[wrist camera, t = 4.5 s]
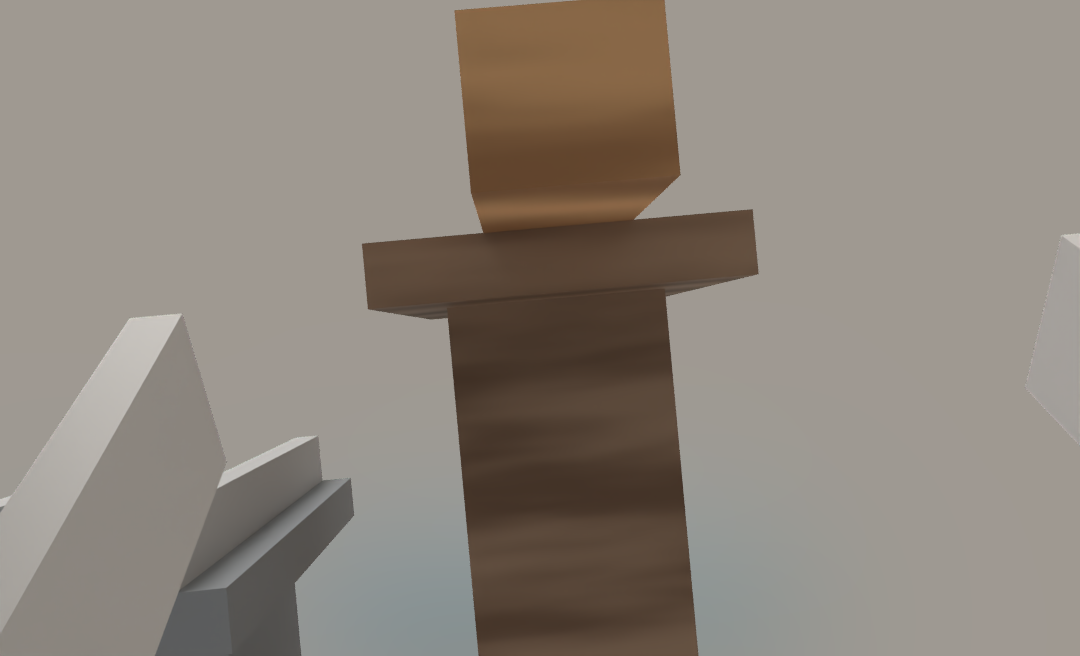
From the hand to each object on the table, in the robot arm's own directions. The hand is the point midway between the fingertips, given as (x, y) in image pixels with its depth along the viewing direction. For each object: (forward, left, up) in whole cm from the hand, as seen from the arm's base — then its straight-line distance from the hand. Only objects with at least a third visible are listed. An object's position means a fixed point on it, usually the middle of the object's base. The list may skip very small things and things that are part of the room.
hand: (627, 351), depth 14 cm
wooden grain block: (-8, +13, +4) cm, 16 cm away
